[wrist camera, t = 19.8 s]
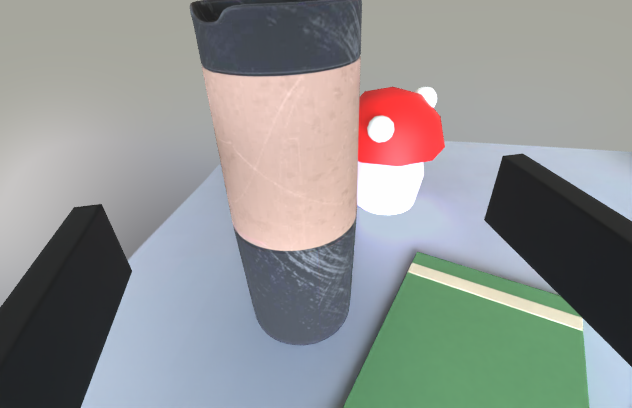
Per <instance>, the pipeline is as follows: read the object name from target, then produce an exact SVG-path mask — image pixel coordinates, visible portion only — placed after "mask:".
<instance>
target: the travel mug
mask: <svg viewBox="0 0 632 408" xmlns="http://www.w3.org/2000/svg"><path fill="white" fill-rule="evenodd" d="M190 11H191V16H192V20H193V24H194V28H195V34H196V39H197V44H198V49H199V54H200V59H201V63H202V69H203V74H204V80H205V85H206V90H207V95H208V100H209V105H210V110H211V115H212V120H213V125H214V130H215V135H216V140H217V146H218V151H219V156H220V161H221V166H222V171H223V176H224V182H225V187H226V192H227V197H228V202H229V207H230V212H231V217H232V222H233V226H234V230H235V234H236V238H237V242H238V247H239V251H240V255H241V259H242V263H243V267H244V271H245V275H246V279H247V283H248V287H249V291H250V295H251V299H252V303H253V306H254V310H255V314H256V317H257V320H258V322H259V324H260V326H261V327H262V329H263V330H264V331H265V332H266V333H267V334H268V335H270V336H271V337H272V338H274V339H276V340H278V341H280V342H283V343H287V344H292V345H308V344H313V343H316V342H319V341H322V340H324V339H326V338H328V337H330V336H331V335H333V334H334V333H335V332H336V331H337V330H338V329H339V328H340V327H341V326H342V324H343V323H344V321H345V319H346V317H347V314H348V311H349V304H350V294H351V282H352V268H353V255H354V242H355V228H356V213H357V178H358V137H359V97H360V94H359V93H360V54H361V18H362V1H361V0H202V1H196V2H192V3H191V5H190Z"/></svg>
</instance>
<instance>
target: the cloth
mask: <svg viewBox="0 0 632 408" xmlns="http://www.w3.org/2000/svg"><path fill="white" fill-rule="evenodd" d="M343 408H589V398H588V386H587V374H586V362H585V349H584V337H583V322H582V317H581V316H580V315H579V314H578V313H577V312H576V311H575V310H574V309H573V308H572V307H571V306H570V305H569V304H568V303H567V302H566V301H565V300H564V299H563V298H562V297H561V296H559V295H556V294H553V293H549V292H546V291H543V290H540V289H536V288H533V287H530V286H527V285H524V284H520V283H517V282H514V281H511V280H507V279H504V278H501V277H498V276H494V275H491V274H488V273H485V272H481V271H478V270H475V269H472V268H468V267H465V266H462V265H459V264H455V263H452V262H449V261H446V260H443V259H439V258H436V257H433V256H430V255H426V254H423V253H420V252H417V253H416V255H415V257H414V260H413V262H412V264H411V266H410V268H409V270H408V272H407V274H406V276H405V278H404V280H403V283H402V285H401V287H400V289H399V291H398V293H397V295H396V297H395V299H394V301H393V304H392V306H391V308H390V310H389V312H388V314H387V316H386V318H385V320H384V322H383V325H382V327H381V329H380V331H379V333H378V335H377V337H376V339H375V341H374V343H373V345H372V348H371V350H370V352H369V354H368V356H367V358H366V360H365V362H364V364H363V366H362V369H361V371H360V373H359V375H358V377H357V379H356V381H355V383H354V385H353V387H352V390H351V392H350V394H349V396H348V398H347V400H346V402H345V404H344V406H343Z"/></svg>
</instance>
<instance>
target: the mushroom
mask: <svg viewBox="0 0 632 408" xmlns="http://www.w3.org/2000/svg"><path fill="white" fill-rule="evenodd" d="M436 102H437V94H436V92H435V91H434V90H433V88H430V87H420V88H418V89H417V90H416V91H415V92H411V91H407V90H403V89H399V88H395V87H389V88H383V89H377V90H371V91H365V92H364V93H363V94H362V95H361V96H360V97H359V137H358V178H357V205H358V206H359V207H361V208H362V209H364V210H365V211H369V212H372V213H375V214H383V215H392V214H399V213H402V212H404V211H406V210H409V209H410V208H411V206H412V205H413V204H414V201H415V199H416V196H417V193H418V190H419V188H420V185H421V182H422V179H423V176H424V165H423V162H426V161H431V160H433V159H434V158H435V157H436V156H437V155H438V154H439V153H440V152H441V151H442V150H443V148H444V147H445V145H444V138H443V132H442V124H441V117H440V116H439V114H438V113H437V112H436V111H435V109H434V108H433V107H434V106H435V104H436Z"/></svg>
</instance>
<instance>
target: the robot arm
mask: <svg viewBox="0 0 632 408" xmlns="http://www.w3.org/2000/svg"><path fill="white" fill-rule="evenodd" d="M484 220H485V221H486V222H487V223H488V224H489V225H490V226H491V227H492V228H493V229H494V230H495V231H496V232H497V233H498V234H499V235H500V236H501V237H502V238H503V239H504V240H505V241H506V242H507V243H508V244H509V245H510V246H511V247H512V248H513V249H514V250H515V251H516V252H517V253H518V254H519V255H520V256H521V257H522V258H523V259H524V260H525V261H526V262H527V263H528V264H529V265H530V266H531V267H532V268H533V269H534V270H535V271H536V272H537V273H538V274H539V275H540V276H541V277H542V278H543V279H544V280H545V281H546V282H547V283H548V284H549V285H550V286H551V287H552V288H553V289H554V290H555V291H556V292H557V293H558V294H559V295H560V296H561V297H562V298H563V299H564V300H565V301H566V302H567V303H568V304H569V305H570V306H571V307H572V308H573V309H574V310H575V311H576V312H577V313H578V314H579V315H580V316H581V317H582V318H583V319H584V320H585V321H586V322H587V323H588V324H589V325H590V326H591V327H592V328H593V329H594V330H595V331H596V332H597V333H598V334H599V335H600V336H601V337H602V338H603V339H604V340H605V341H606V342H607V343H608V344H609V345H610V346H611V347H612V348H613V349H614V350H615V351H616V352H617V353H618V354H619V355H620V356H621V357H622V358H623V359H624V360H625V361H626V362H627V363H628V364H629V365H630V366H631V367H632V221H630V220H629V219H627V218H625V217H624V216H622V215H621V214H619V213H617V212H616V211H614V210H613V209H611V208H609V207H608V206H606V205H605V204H603V203H601V202H600V201H598V200H596V199H595V198H593V197H592V196H590V195H588V194H587V193H585V192H584V191H582V190H580V189H579V188H577V187H576V186H574V185H572V184H571V183H569V182H568V181H566V180H564V179H563V178H561V177H560V176H558V175H556V174H555V173H553V172H551V171H550V170H548V169H547V168H545V167H543V166H542V165H540V164H539V163H537V162H535V161H534V160H532V159H531V158H529V157H527V156H526V155H524V154H516V155H508V156H503V157H502V161H501V164H500V168H499V171H498V175H497V178H496V182H495V185H494V188H493V192H492V195H491V199H490V202H489V206H488V209H487V213H486V216H485V219H484ZM131 273H132V270H131V268H130V265H129V263H128V261H127V259H126V257H125V254H124V253H123V250H122V248H121V246H120V243H119V241H118V239H117V237H116V235H115V233H114V230H113V228H112V226H111V224H110V222H109V220H108V217H107V215H106V213H105V211H104V208H103V206H102V204H99V205H90V206H83V207H74V208H73V210H72V211H71V212H70V214H69V215H68V216H67V218H66V219H65V220H64V222H63V223H62V225H61V226H60V227H59V229H58V230H57V231H56V233H55V234H54V235H53V237H52V238H51V239H50V241H49V242H48V244H47V245H46V246H45V248H44V249H43V250H42V252H41V253H40V254H39V256H38V257H37V258H36V260H35V261H34V262H33V264H32V265H31V267H30V268H29V269H28V271H27V272H26V273H25V275H24V276H23V277H22V279H21V280H20V282H19V283H18V284H17V286H16V287H15V288H14V290H13V291H12V292H11V294H10V295H9V297H8V298H7V299H6V301H5V302H4V303H3V305H2V306H1V307H0V408H81V405H82V403H83V400H84V397H85V395H86V392H87V389H88V387H89V384H90V381H91V379H92V376H93V373H94V371H95V368H96V365H97V363H98V360H99V357H100V355H101V352H102V350H103V347H104V344H105V342H106V339H107V336H108V334H109V331H110V328H111V326H112V323H113V320H114V318H115V315H116V312H117V310H118V307H119V304H120V302H121V299H122V296H123V294H124V291H125V288H126V286H127V283H128V281H129V278H130V275H131Z"/></svg>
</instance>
